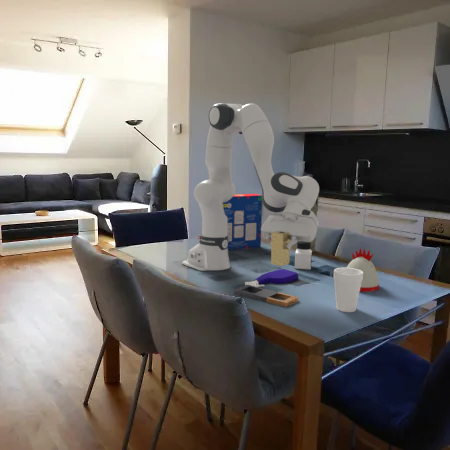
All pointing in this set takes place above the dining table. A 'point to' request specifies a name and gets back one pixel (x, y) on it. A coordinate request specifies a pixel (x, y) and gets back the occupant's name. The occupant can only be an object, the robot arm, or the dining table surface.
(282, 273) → the purple flat blob
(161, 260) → the dining table surface
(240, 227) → the pasta box
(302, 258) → the medicine bottle
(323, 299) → the dining table surface
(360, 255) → the kitchen timer
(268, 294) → the peg insertion board
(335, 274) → the foam cup
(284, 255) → the tan square peg
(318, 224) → the robot arm
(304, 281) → the dining table surface
